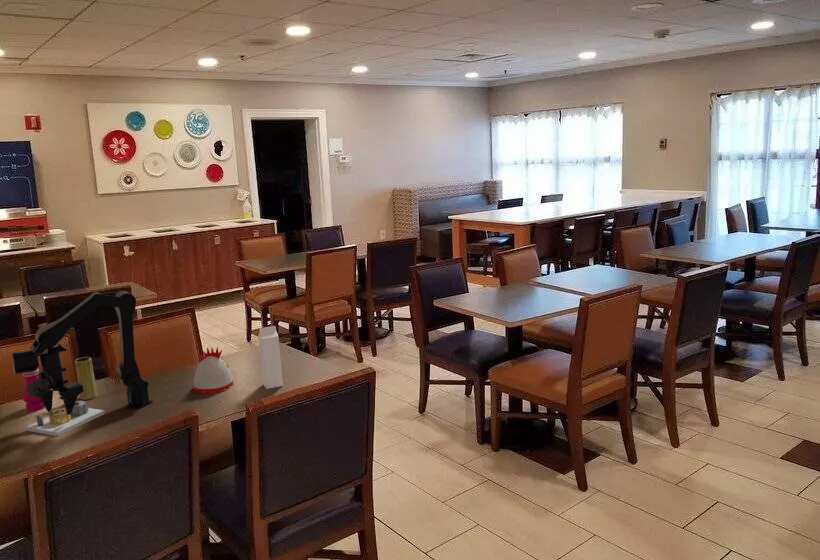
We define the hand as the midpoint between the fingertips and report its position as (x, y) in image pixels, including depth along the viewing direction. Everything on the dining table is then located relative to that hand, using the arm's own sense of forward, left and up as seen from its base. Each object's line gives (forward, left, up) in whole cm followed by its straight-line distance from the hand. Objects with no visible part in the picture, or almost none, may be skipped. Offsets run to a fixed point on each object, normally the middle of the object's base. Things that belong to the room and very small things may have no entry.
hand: (59, 412), depth 207 cm
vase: (+12, -21, -4) cm, 25 cm away
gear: (0, 0, -3) cm, 3 cm away
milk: (-47, -50, -4) cm, 69 cm away
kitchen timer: (-26, -43, -4) cm, 50 cm away
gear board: (0, -2, -4) cm, 5 cm away
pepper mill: (+22, -8, -4) cm, 24 cm away
